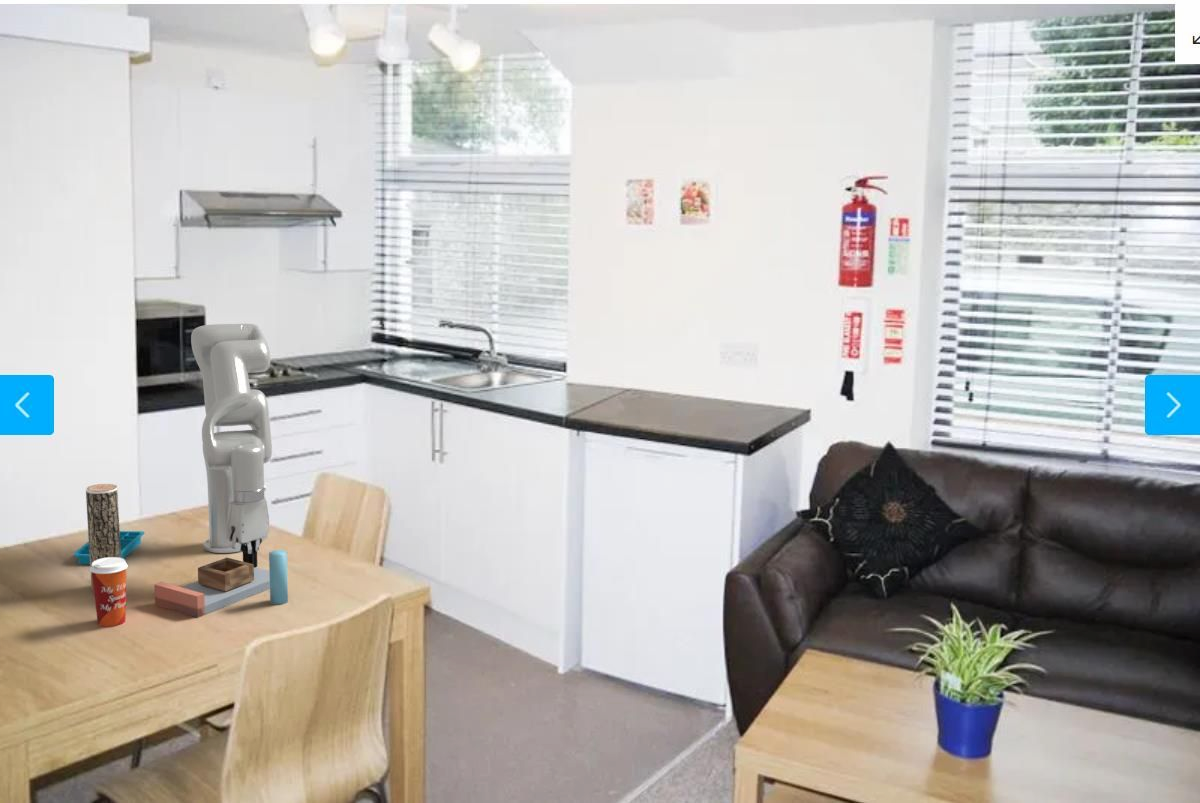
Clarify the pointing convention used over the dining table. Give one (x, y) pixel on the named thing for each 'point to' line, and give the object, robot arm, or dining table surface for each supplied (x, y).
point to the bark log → (103, 522)
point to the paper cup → (110, 590)
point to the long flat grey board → (207, 595)
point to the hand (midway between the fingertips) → (250, 566)
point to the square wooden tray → (225, 574)
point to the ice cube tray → (127, 544)
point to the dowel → (278, 577)
